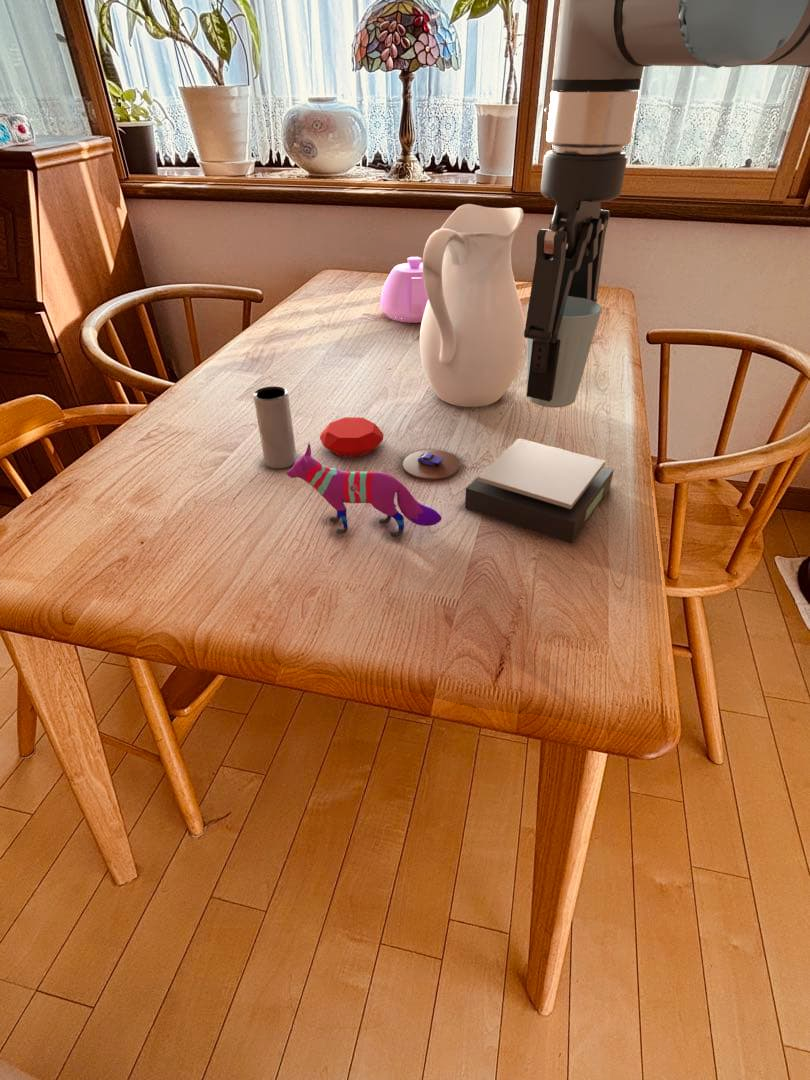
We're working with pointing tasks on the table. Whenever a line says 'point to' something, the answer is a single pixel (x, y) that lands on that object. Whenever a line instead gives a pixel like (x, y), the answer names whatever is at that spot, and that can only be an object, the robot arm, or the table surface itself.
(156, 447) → the table surface
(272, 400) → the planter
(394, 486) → the fox figurine
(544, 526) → the scale
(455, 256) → the pitcher
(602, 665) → the table surface
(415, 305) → the teapot
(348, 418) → the gemstone
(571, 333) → the cup
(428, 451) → the round wooden coaster
